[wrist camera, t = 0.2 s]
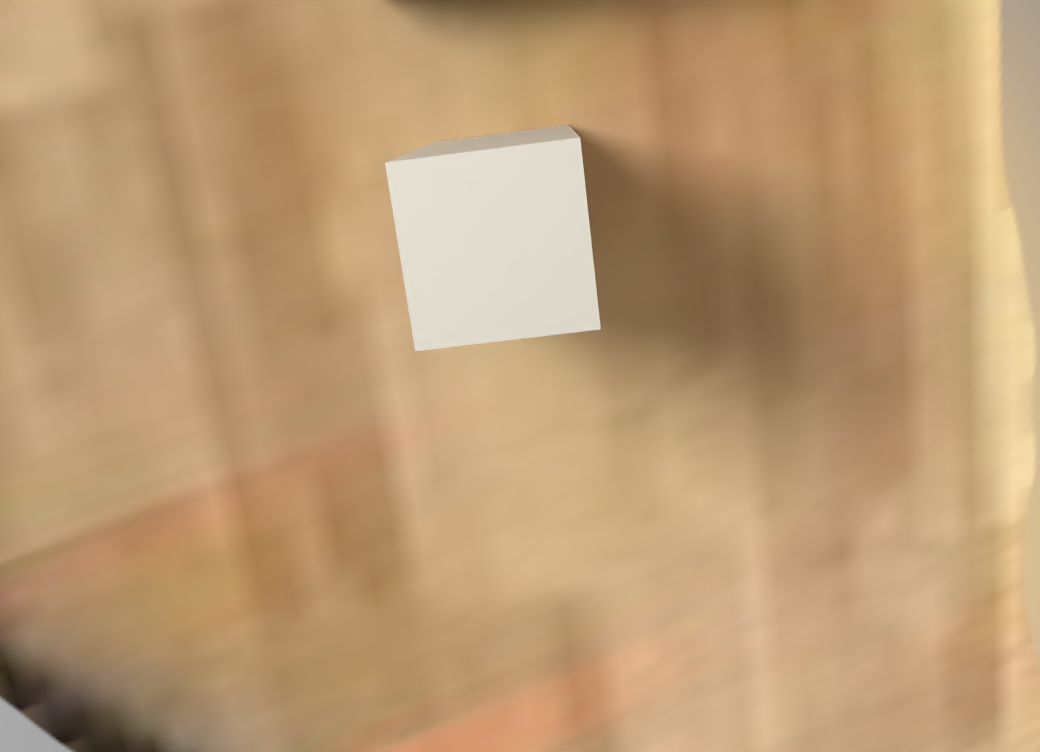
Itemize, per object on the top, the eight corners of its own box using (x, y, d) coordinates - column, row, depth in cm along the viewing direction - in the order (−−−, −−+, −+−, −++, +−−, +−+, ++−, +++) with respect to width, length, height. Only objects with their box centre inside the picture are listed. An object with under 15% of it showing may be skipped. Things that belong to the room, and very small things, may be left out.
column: (434, 141, 37) (385, 162, 25) (568, 124, 36) (580, 137, 25) (454, 273, 38) (415, 351, 26) (583, 258, 38) (600, 329, 26)
